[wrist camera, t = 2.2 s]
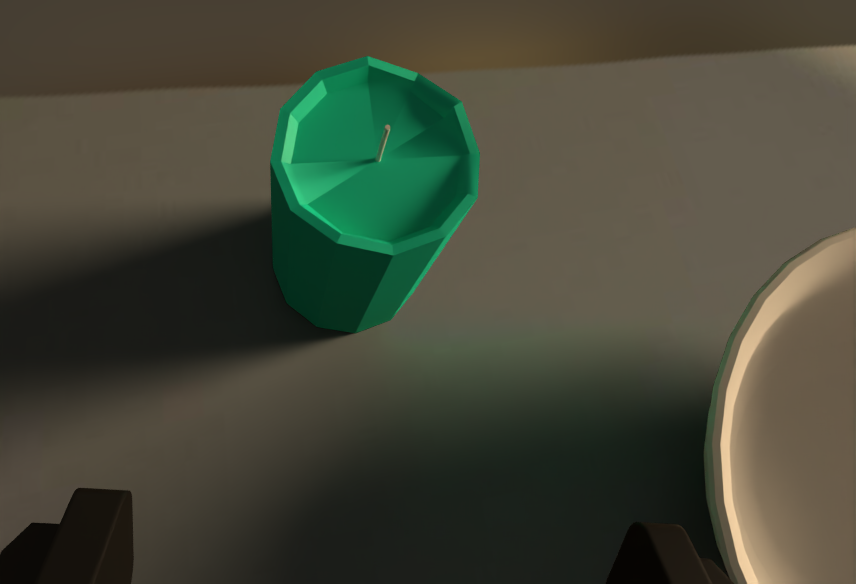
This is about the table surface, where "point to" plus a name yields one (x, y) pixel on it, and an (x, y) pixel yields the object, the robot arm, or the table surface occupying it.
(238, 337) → the table surface
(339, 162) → the candle
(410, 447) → the table surface
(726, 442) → the bowl
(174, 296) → the table surface
